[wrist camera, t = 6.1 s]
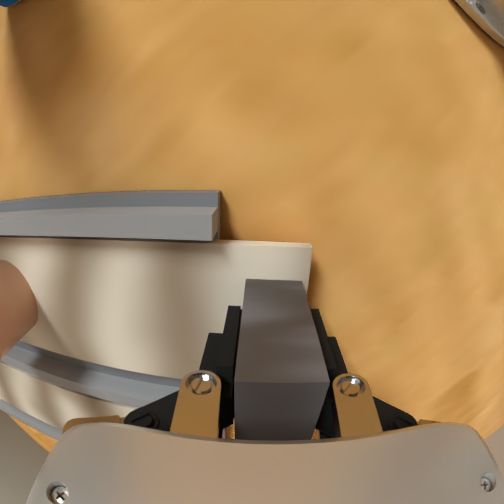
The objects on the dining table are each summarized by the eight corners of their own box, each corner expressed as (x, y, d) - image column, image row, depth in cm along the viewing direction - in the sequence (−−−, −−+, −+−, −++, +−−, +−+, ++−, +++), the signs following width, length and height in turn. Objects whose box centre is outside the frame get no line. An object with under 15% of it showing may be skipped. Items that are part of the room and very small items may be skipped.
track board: (220, 190, 12) (211, 198, 10) (228, 466, 20) (226, 485, 18) (-60, 211, 13) (-76, 217, 11) (11, 401, 21) (3, 412, 19)
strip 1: (165, 408, 16) (140, 488, 10) (181, 459, 19) (168, 520, 13) (-28, 341, 17) (-61, 374, 10) (1, 394, 19) (-24, 427, 13)
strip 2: (310, 243, 12) (354, 335, 6) (291, 378, 15) (301, 479, 9) (-33, 233, 12) (-91, 265, 6) (-7, 325, 15) (-51, 367, 9)
